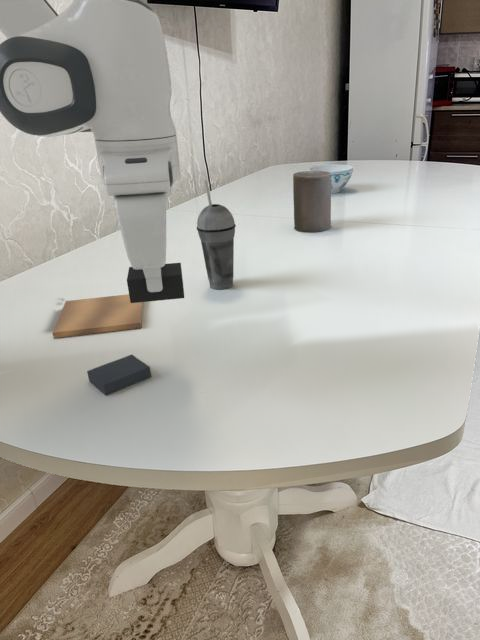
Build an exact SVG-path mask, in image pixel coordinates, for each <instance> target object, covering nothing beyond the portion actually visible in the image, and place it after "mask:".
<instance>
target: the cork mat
mask: <svg viewBox="0 0 480 640" xmlns="http://www.w3.org/2000/svg"><path fill="white" fill-rule="evenodd" d="M143 309H144V302H138V303H130V297H129V293H127V294H119V295H110V296H99V297H92V298H82V299H81V298H79V299H73V300H72V299H71V300H66V301H65V302H64V304H63V307H62V309H61V311H60V313H59V315H58V318H57V321H56V322H55V323H56V324H55V326H54V327H53V330H52V337H53V339H59V338H67V337H76V336H85V335H95V334H102V333H111V332H118V331H119V332H120V331H128V330H136V329H142V325H143V312H144V311H143Z"/></svg>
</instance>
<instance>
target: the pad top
mask: <svg viewBox="0 0 480 640" xmlns="http://www.w3.org/2000/svg"><path fill="white" fill-rule="evenodd" d="M151 371H152V370H151V367H150V366H149V365H148V364H146V363H145V362H143V361H142V360H141V359H139V358H138V357H136V355H134V354H130V355H129V354H128V355H125V356H124V357H121V358H118V359H115V360H113V361H110V362H108V363H105V364H102V365H100V366H97V367H94V368H91V369H89V370H87V371H86V373H87V377H88V381H89V383H90V384H92V385H93V386H94V388H96V389H97V390H98V391H99V392H101V393H102V394H103V395H104V396H105V397H107V396H109V395H112V394H114V393H117V392H119V391H122V390H124V389H126V388H129V387H132V386H133V385H136V384H139V383H141V382H143V381H146V380H148V379H151V378H152V372H151Z"/></svg>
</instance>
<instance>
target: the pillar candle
mask: <svg viewBox="0 0 480 640" xmlns="http://www.w3.org/2000/svg"><path fill="white" fill-rule="evenodd" d="M292 187H293V188H292V189H293V190H292V191H293V195H292V196H293V224H294V225H293V229H294V230H295V231H298V232H302V233H318V232H324V231H327V230H330V229H331V225H332V224H331V223H332V221H331V220H332V193H331V173H330V172H326V171H312V168H311V171H308V170H305V171H297V172H294V173H293V175H292Z"/></svg>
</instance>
